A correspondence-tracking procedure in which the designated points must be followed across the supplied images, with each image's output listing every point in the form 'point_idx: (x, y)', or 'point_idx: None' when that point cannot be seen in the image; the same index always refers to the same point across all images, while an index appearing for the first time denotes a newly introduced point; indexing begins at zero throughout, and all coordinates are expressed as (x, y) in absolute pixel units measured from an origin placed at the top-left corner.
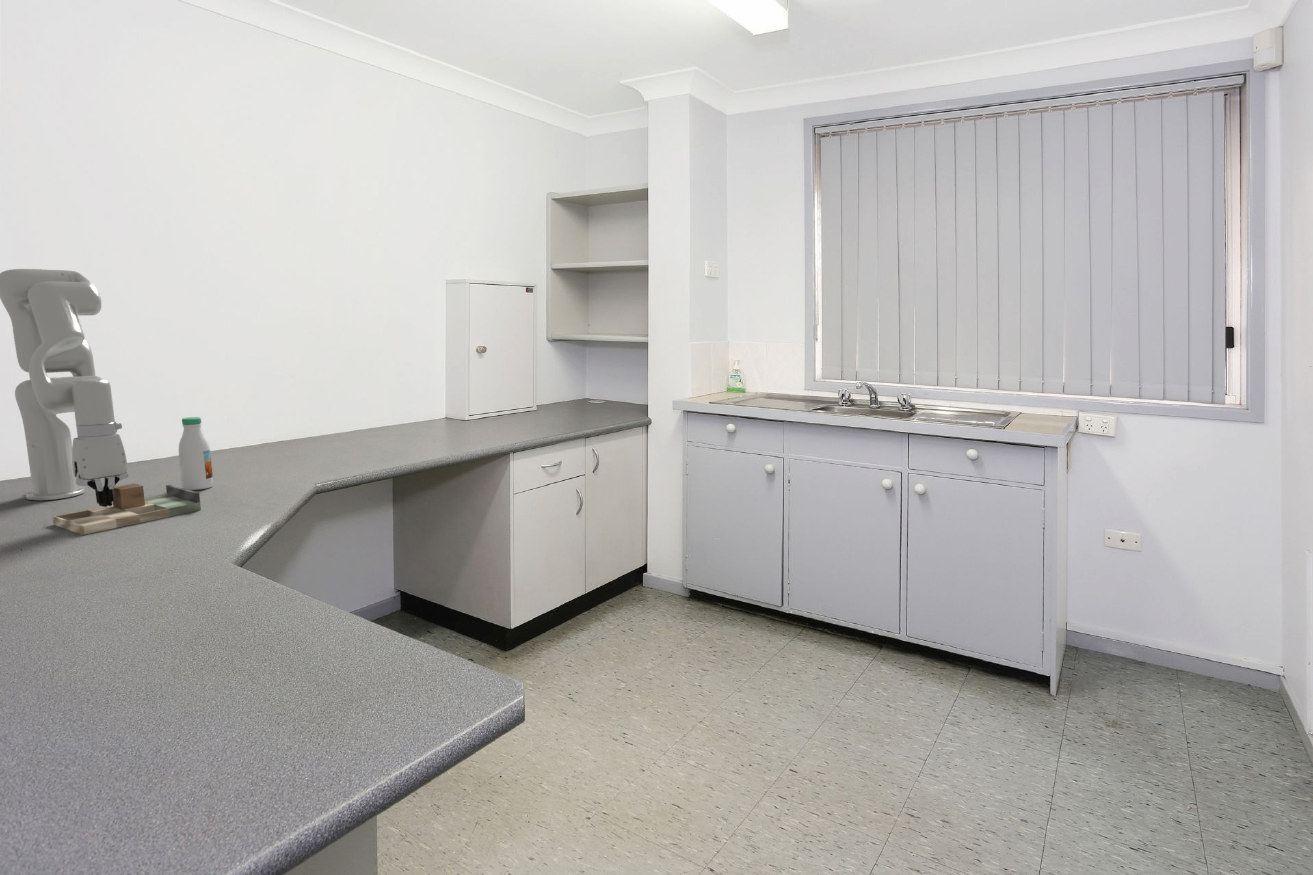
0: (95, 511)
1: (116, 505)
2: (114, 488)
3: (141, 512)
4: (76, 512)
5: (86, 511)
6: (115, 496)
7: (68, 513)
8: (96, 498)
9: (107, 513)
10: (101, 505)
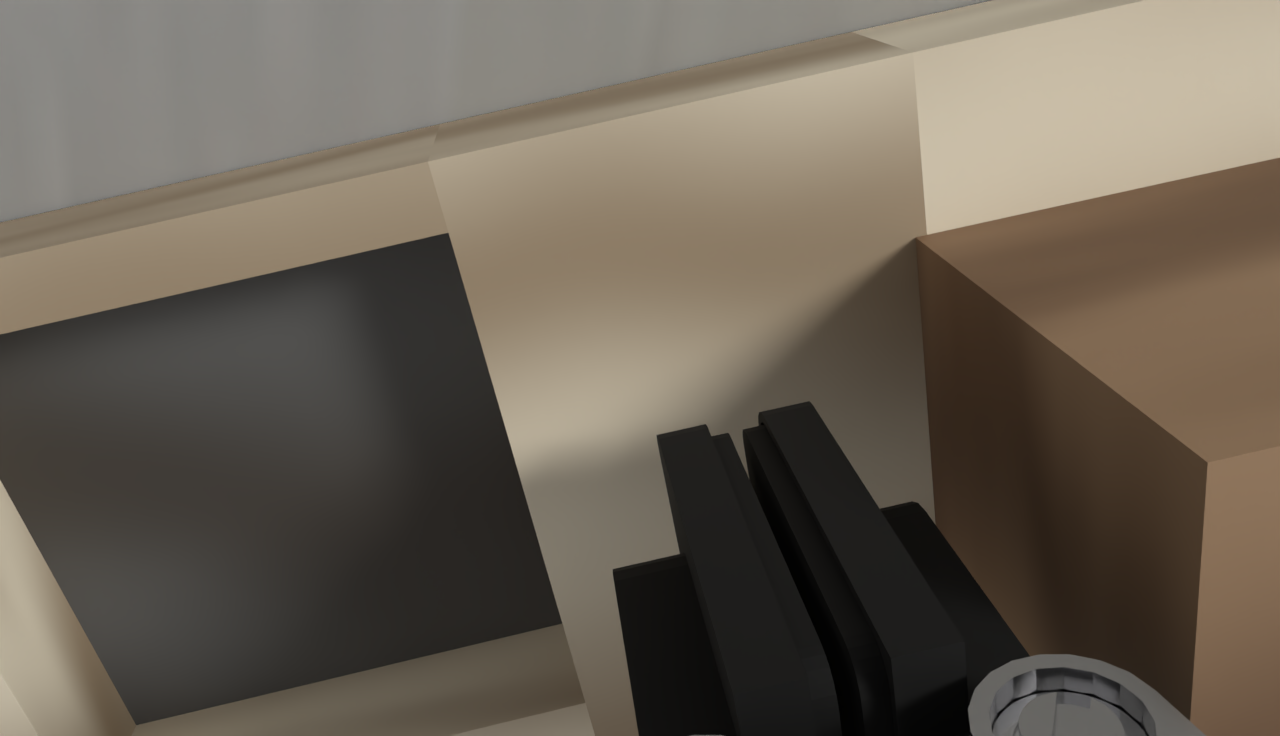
0: (552, 442)
1: (946, 411)
2: (1180, 667)
3: None
4: (213, 284)
5: (411, 238)
6: (1045, 524)
7: (50, 266)
8: (623, 626)
9: None
10: (677, 538)
